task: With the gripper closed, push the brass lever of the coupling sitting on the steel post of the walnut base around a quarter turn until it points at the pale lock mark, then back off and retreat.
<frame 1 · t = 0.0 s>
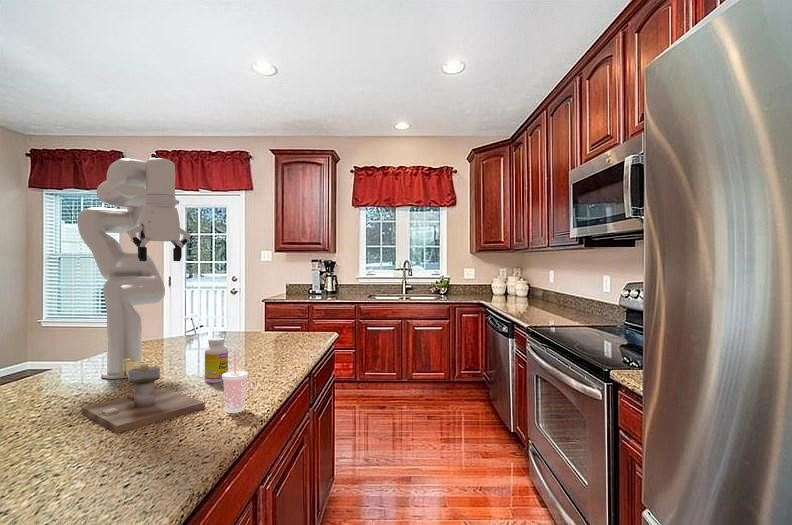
hand: (160, 261, 129), 37 cm above the worktop, tool pointing down, fingers open, 9 cm apart
coupling: (138, 369, 112), point 10 cm above the worktop, hinge at 0.0°
post base: (144, 410, 110), on the worktop
supplement bottle: (216, 381, 137), on the worktop
beverage cup: (235, 410, 111), on the worktop
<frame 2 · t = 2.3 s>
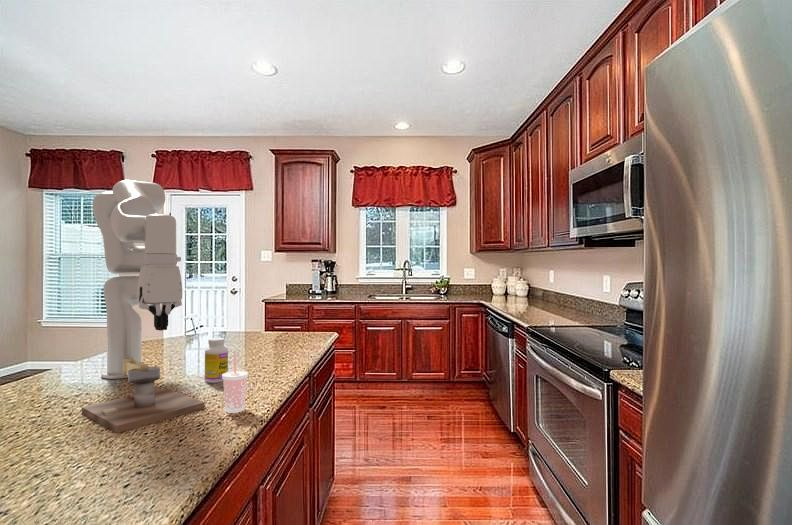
hand: (161, 329, 119), 19 cm above the worktop, tool pointing down, fingers closed
nothing on the worktop moved.
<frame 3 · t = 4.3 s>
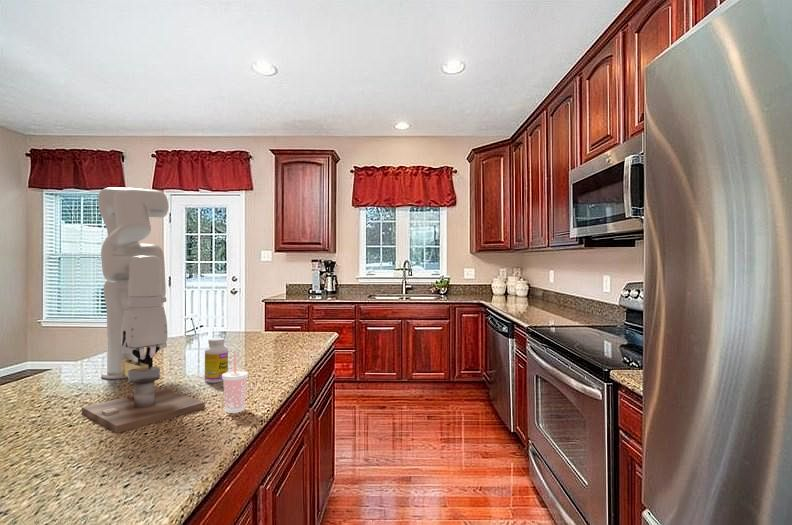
hand: (145, 373, 116), 8 cm above the worktop, tool pointing down, fingers closed
coupling: (137, 370, 111), point 10 cm above the worktop, hinge at 3.2°, touching gripper
everything else where it was.
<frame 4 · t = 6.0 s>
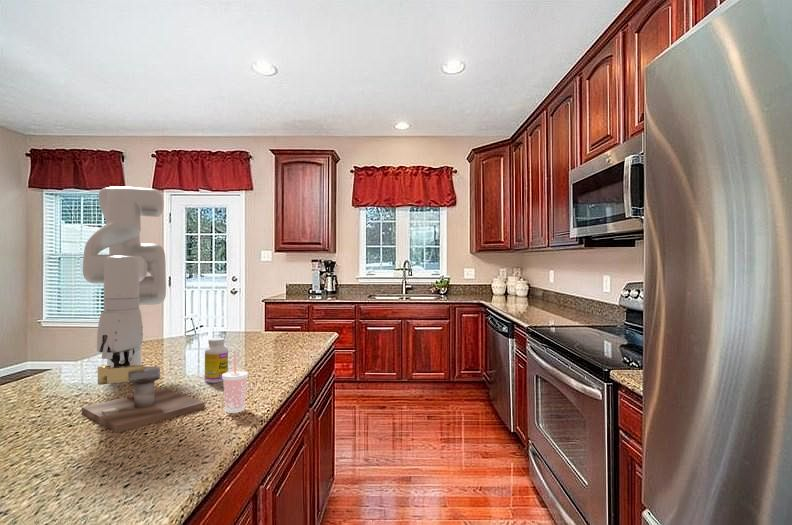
hand: (121, 378, 111), 8 cm above the worktop, tool pointing down, fingers closed
coupling: (129, 372, 109), point 10 cm above the worktop, hinge at 56.8°, touching gripper
everything else where it was.
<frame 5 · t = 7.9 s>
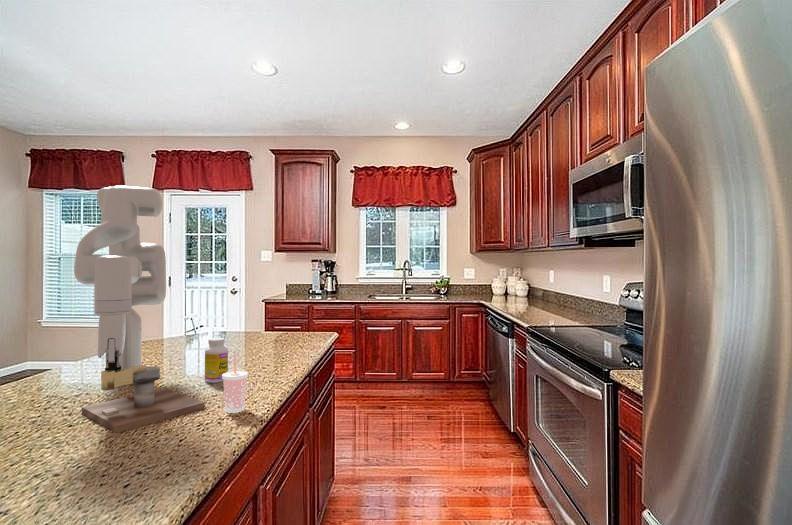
hand: (113, 383, 107), 8 cm above the worktop, tool pointing down, fingers closed
coupling: (131, 374, 107), point 10 cm above the worktop, hinge at 97.5°, touching gripper
everything else where it was.
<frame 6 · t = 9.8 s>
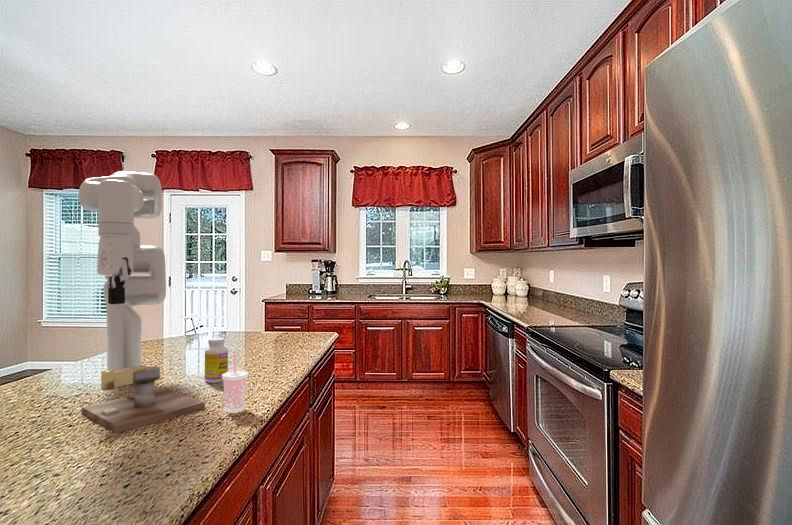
hand: (116, 303, 112), 26 cm above the worktop, tool pointing down, fingers closed
coupling: (131, 374, 107), point 10 cm above the worktop, hinge at 97.5°
everything else where it was.
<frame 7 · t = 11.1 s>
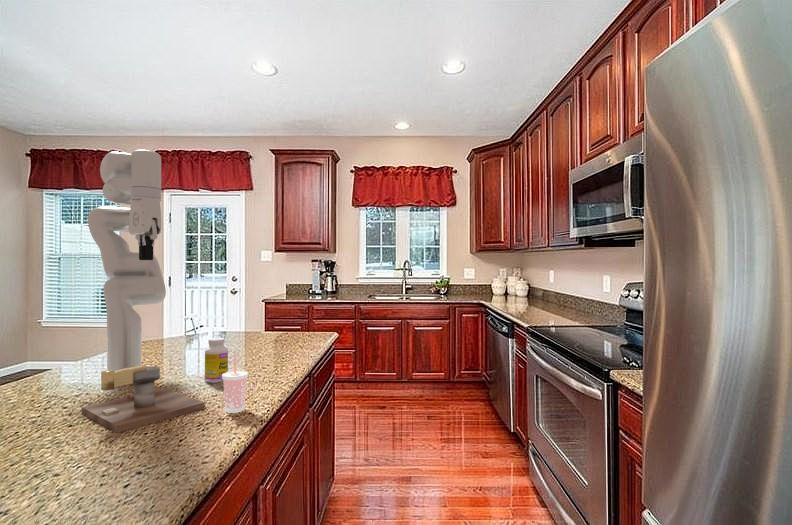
hand: (146, 259, 126), 37 cm above the worktop, tool pointing down, fingers closed
nothing on the worktop moved.
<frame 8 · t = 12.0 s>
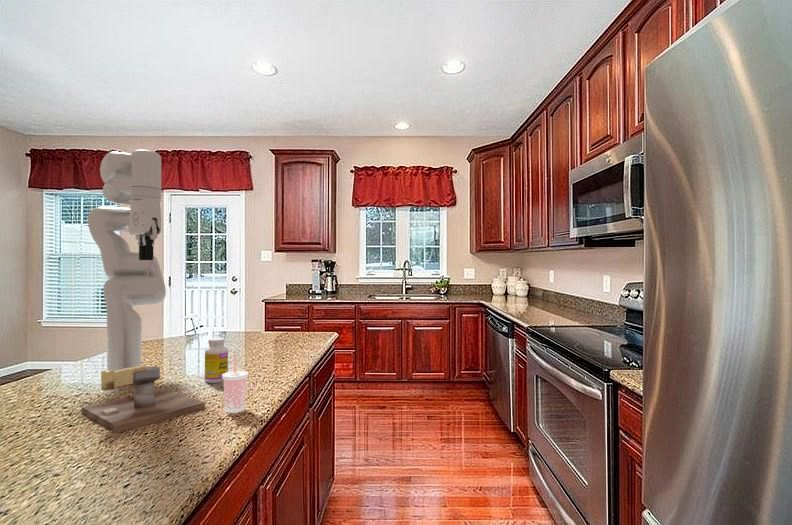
hand: (146, 259, 126), 37 cm above the worktop, tool pointing down, fingers closed
nothing on the worktop moved.
at the end: coupling at +98° (first picture: +0°); coupling touching nothing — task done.
